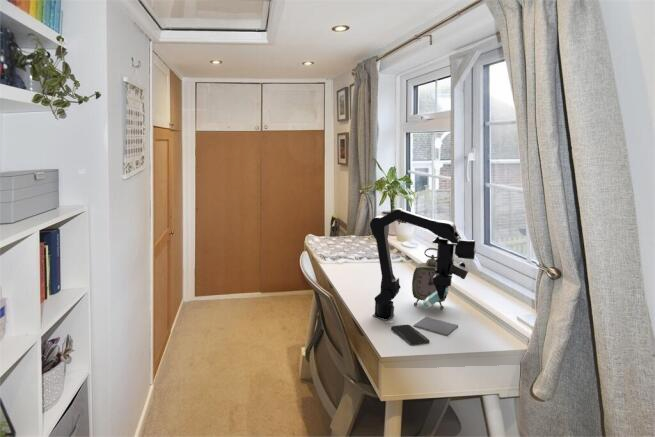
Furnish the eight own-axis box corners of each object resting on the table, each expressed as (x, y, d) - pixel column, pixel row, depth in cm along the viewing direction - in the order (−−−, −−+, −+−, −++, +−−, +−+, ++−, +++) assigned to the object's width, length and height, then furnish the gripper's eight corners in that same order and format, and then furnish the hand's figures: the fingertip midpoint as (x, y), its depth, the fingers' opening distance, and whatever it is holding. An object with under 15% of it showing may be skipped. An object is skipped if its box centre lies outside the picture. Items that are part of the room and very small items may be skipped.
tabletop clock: (410, 307, 189) (414, 248, 185) (412, 300, 198) (416, 244, 194) (446, 312, 185) (451, 252, 181) (447, 304, 193) (451, 247, 189)
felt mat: (413, 326, 169) (413, 325, 169) (425, 317, 178) (425, 316, 178) (447, 335, 162) (447, 334, 161) (458, 326, 170) (458, 325, 170)
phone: (408, 324, 169) (430, 341, 155) (408, 327, 169) (430, 344, 155) (389, 326, 166) (410, 343, 152) (389, 329, 166) (410, 346, 153)
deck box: (422, 304, 168) (443, 288, 165) (423, 299, 173) (444, 284, 170) (426, 309, 168) (448, 293, 165) (428, 305, 173) (448, 289, 169)
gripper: (467, 264, 154) (463, 308, 157) (468, 252, 172) (464, 292, 175) (434, 261, 158) (430, 304, 160) (438, 249, 175) (435, 288, 178)
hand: (441, 297), depth 168 cm, fingers closed on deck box, 5 cm apart
